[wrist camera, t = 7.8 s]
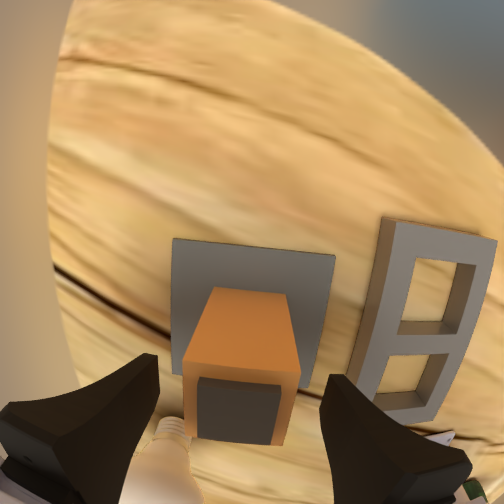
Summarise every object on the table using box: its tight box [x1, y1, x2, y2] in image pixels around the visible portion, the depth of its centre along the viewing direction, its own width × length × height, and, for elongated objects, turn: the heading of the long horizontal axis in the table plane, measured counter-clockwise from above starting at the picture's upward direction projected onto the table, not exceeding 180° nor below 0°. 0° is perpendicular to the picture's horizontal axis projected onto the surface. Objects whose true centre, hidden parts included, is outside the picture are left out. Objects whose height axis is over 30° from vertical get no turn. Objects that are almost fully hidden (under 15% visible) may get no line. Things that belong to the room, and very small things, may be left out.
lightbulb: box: [119, 416, 205, 504], centre depth 14 cm, size 6×6×11 cm
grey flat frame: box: [346, 217, 498, 425], centre depth 17 cm, size 14×8×2 cm, turn 174°
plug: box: [182, 287, 301, 446], centre depth 13 cm, size 4×4×8 cm
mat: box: [171, 238, 336, 388], centre depth 17 cm, size 9×9×1 cm
